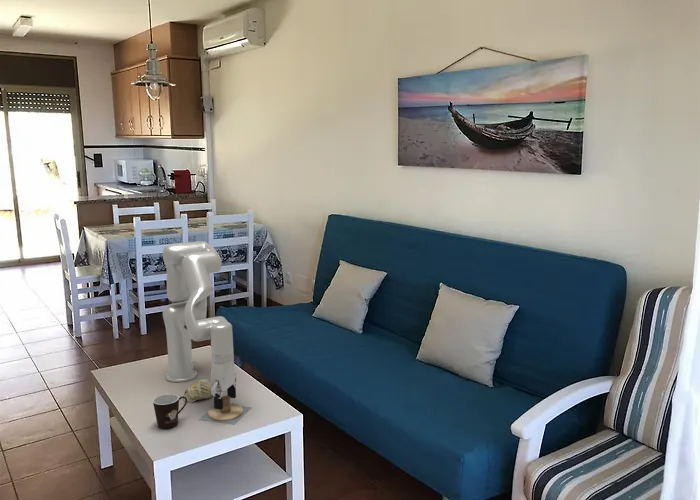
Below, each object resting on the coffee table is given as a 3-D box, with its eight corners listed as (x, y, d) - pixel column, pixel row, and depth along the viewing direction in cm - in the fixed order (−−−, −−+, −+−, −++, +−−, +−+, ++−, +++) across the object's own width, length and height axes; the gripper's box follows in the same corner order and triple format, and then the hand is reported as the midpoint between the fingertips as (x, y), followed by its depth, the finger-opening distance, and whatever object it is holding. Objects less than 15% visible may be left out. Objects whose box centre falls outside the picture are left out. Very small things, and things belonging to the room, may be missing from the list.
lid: (218, 404, 217) (217, 389, 216) (248, 407, 214) (247, 392, 213) (202, 419, 206) (201, 403, 205) (233, 422, 203) (232, 406, 202)
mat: (217, 404, 219) (217, 403, 219) (252, 408, 215) (252, 407, 215) (198, 421, 205) (198, 419, 205) (234, 426, 202) (234, 424, 202)
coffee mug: (156, 434, 196) (154, 406, 195) (153, 423, 204) (151, 396, 202) (191, 427, 201) (190, 400, 199) (187, 417, 209) (186, 390, 207)
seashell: (177, 402, 219) (182, 375, 222) (191, 404, 228) (196, 378, 231) (200, 404, 216) (205, 377, 219) (214, 406, 225) (218, 380, 228)
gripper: (224, 348, 216) (227, 392, 218) (200, 364, 199) (203, 412, 202) (243, 349, 214) (245, 394, 216) (220, 366, 197) (223, 414, 200)
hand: (225, 403), depth 209 cm, fingers open, 9 cm apart
